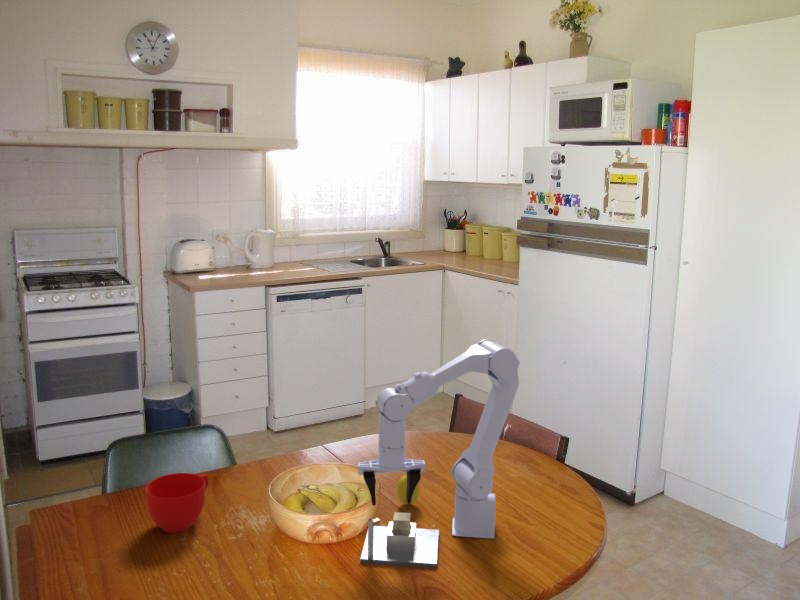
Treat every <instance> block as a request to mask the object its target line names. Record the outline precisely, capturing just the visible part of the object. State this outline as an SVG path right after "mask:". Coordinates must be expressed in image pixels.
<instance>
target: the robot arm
mask: <svg viewBox="0 0 800 600" xmlns="http://www.w3.org/2000/svg"><path fill="white" fill-rule="evenodd" d="M520 363H521V362H520V361H519V359H518V357H517V355H516V354H515V353H514V351H513V350H512V349H511V348H506V347H505V346H503V345H501V344H499V343H498V342H496V341H494V340H493V339H491V338H490V339H489V338H484V339H482V340H480V341H479V342H478V343H475V344H472V345H470V346H469V347H468V348H467V350H466V351H464V352H463V353H461V354H460V355H458V356H456V357H454V359H452V360H450V361H449V362H446V363H445V364H444V365H442V366H440V367H439V368H437V369H436V370H435V371H433V372H428V371H421V372H420V371H416V372H415V373H413V377H411V378H409V379H407V380H405V381H404V382H402V383H397V384H395V385H394V387H386V388H384V389H382V390H381V391H380V392H379V394H378V396H377V397H376V399H375V400H374V403H375V406H376V408H377V410H378V411H379V415H378V416H379V420H378V459H374V460H368V461H362V462H357V473H358V475H363V479H364V482H365V484H366V486H367V489H368V491H369V493H370V498H371V505H372V506H376V505H377V501H376V500H377V499H376V482H377V480H376V473H399V472H406V475H407V491H406V500H407V504H409V505H411V504H412V503H411V499H412V495H413V492H414V490H415V488H416V486H417V484H418V482H419V483H420V481H421V478H422V474H421V473H425V472H426V462H425V460H424V459H411V458H406V428H407V427H406V425H407V424H406V418H407V417H408V416H409V414H410V413H411V410H412V409H414V408H415V407H417V406H419V405H421V404H422V403H425V402H426V401H428V400H429V399H431V398H433V397H435V396H436V395H437V394H438V392H439V389H440V388H441V387H442V386H444V385H446V384H448V383H450V382H452V381H454V380H457V379H459V378H461V377H462V376H465V375H467V374H468V373H470V372H474V373H480V374H485V375H487V377H488V378H489V380H490V382H491V388H490V391H489V394H488V396H487V400H486V402H485V405H484V408H483V410H482V412H481V413H482V414H481V416H480V419H479V422H478V423H477V427H476V429H475V432H474V435H473V437H472V440H471V443H470V446H469V447H468V448H467V449H465V450H464V451H462V452H461V455H460V457H458V458H459V459H458V460H457V461H455V463H454V464H453V465H452V468H451V477H452V479H453V481H454V482H456V483H455V492H454V494H455V495H454V517H452V524H451V525H452V526H451V528H452V529H451V535H452V536H453V537H461V538H462V537H464V538H478V539H479V538H480V539H495V529H496V527H495V526H496V525H497V518H496V513H497V511H496V508H497V507H496V505H497V503H496V500H497V499H496V497H497V496H496V493H492V489H493V487H494V485H493V484H494V481H493V477H494V475H495V467H494V462H493V456H494V454H495V450H496V447H497V445H498V442H499V439H500V437H501V434H502V432H503V429H504V426H505V423H506V421H507V418H508V416H509V413H510V410H511V408H512V405H513V402H514V399H515V397H516V394H517V391H518V389H519V385H520V384H519V383H520V382H519V371H518V370H519V369H518V368H519V367H520ZM407 504H406V505H407Z"/></svg>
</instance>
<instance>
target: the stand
mask: <svg viewBox="0 0 800 600" xmlns="http://www.w3.org/2000/svg"><path fill="white" fill-rule="evenodd" d="M367 524H368V526H367V527H368V528H367V530H366V535H365V536H366V537H365V540H364V545H363V548H362V551H361V555H360V562H359V563H360V564H366V565H367V564H369V565H380V566H381V565H383V566H399V567H412V568H413V567H414V568H426V569H437V568H438V555H439V554H438V551H439V541H440V540H439V535H440V529H433V528H429V529H428V528H417V522H411V525H410V534H397V533H393V520H392V521H389V522H388V525H387V526H384V525H379V524H381V519H379V518H378V517H376V518H368V521H367Z"/></svg>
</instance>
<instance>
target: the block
mask: <svg viewBox="0 0 800 600" xmlns="http://www.w3.org/2000/svg"><path fill="white" fill-rule="evenodd" d="M393 514H394V515H393V518H392V522H393V533H397V534H410V525H411V523H412V522H411V516H412V515H411V514H412V513H411V512H400V511H399V512H398V511H397V512H395V511H394V513H393Z"/></svg>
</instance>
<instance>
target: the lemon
mask: <svg viewBox="0 0 800 600" xmlns="http://www.w3.org/2000/svg"><path fill="white" fill-rule="evenodd" d="M420 488H421V487H420V481H419V482H418V484H417V486H416V488H415V490H414V492H413V495H412V499H411V504H413V503H415V502H416V501H417V500H418V498H419V496H420V491H421V489H420ZM406 491H407V474H405V475H402V477H400V479H399V480H398V483H397V486H396V493H397V496H398V499H399V500H400V502H402V503H404V504H405V505H407V506H410V504H407V500H406Z"/></svg>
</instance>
